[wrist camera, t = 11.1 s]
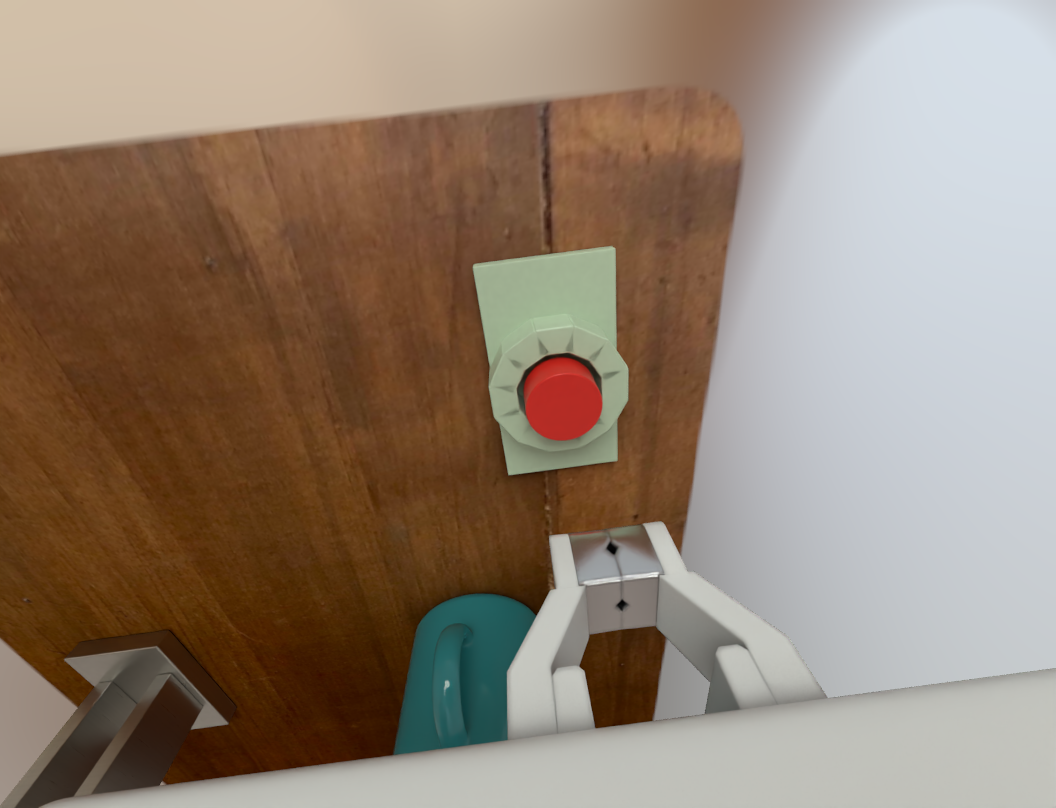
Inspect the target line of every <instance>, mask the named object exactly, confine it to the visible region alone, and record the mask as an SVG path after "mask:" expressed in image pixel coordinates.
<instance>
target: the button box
mask: <svg viewBox="0 0 1056 808" xmlns="http://www.w3.org/2000/svg"><path fill="white" fill-rule="evenodd" d="M473 272H474V278H475V284H476V290H477V296H478V302H479V307H480V313H481V319H482V325H483V331H484V336H485V342H486V348H487V354H488V360H489V366H490V371H489V392H490V398H491V403H492V409H493V414H494V418H495V419H496V420H497V422H498V423H499V424H500V430H501V435H502V441H503V447H504V453H505V459H506V464H507V470H508V475H515V474H523V473H530V472H538V471H545V470H553V469H560V468H568V467H575V466H583V465H590V464H598V463H605V462H613V461H617V460H618V450H617V418H618V416H619V415H620V413H621V411H622V410H623V408H624V406H625V405H626V403H627V401H628V367H627V365H626V363H625V362H624V360H623V359H622V357H621V356H620V355H619V353H618V352H617V348H616V249H615V248H614V247H612V246H608V247H601V248H593V249H585V250H578V251H570V252H562V253H555V254H547V255H539V256H532V257H524V258H516V259H508V260H501V261H493V262H485V263H478V264H474V265H473ZM557 357H566V358H571V359H574V360H577V361H579V362H580V363H582V364H583V365H584V366H586V367H587V369H588V370H589V371H590V373H591V375H592V377H593V379H594V381H595V383H596V385H597V387H598V389H599V391H600V393H601V396H602V402H603V405H602V412H601V415H600V417H599V419H598V421H597V423H596V424H595V425H594V426H593V428H592V429H590V430H589V431H588V432H587V433H585V434H584V435H582V436H580V437H578V438H575V439H571V440H565V441H557V440H551V439H548V438H545V437H543V436H542V435H540V434H539V433H537V432H536V431H535V430H534V429H533V428H532V427H531V425H530V424H529V422H528V419H527V416H526V410H525V402H524V394H523V389H524V384H525V381H526V378H527V376H528V375H529V373H530V372H531V371H532V370H533V369H534V368H535V367H536V366H537V365H538V364H540V363H542V362H543V361H546V360H548V359H551V358H557Z"/></svg>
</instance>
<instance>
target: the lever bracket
mask: <svg viewBox="0 0 1056 808" xmlns="http://www.w3.org/2000/svg"><path fill="white" fill-rule="evenodd" d="M64 660H65V661H66V662H67V663H68V664H69V665H70V666H72V667H73V668H74V669H75V670H76V671H77V672H78V673H80V674H81V675H82V676H83V677H84V678H85V679H86V680H88V681H89V682H90V683H91V684H92V685H93V686H94V688H93V690H92V691H91V692H90V693H89V695H88V696H87V697H86V698H85V700H84V701H83V702H82V703H81V705H80V706H79V707H78V709H77V710H76V711H75V712H74V714H73V715H72V716H71V717H70V719H69V720H68V721H67V722H66V724H65V725H64V726H63V727H62V729H61V730H60V731H59V732H58V734H57V735H56V736H55V738H54V739H53V740H52V741H51V742H50V744H49V745H48V746H47V747H46V749H45V750H44V751H43V753H42V754H41V755H40V756H39V758H38V759H37V760H36V761H35V763H34V764H33V765H32V766H31V768H30V769H29V770H28V771H27V773H26V774H25V775H24V777H23V778H22V779H21V780H20V781H19V783H18V784H17V785H16V786H15V788H14V789H13V790H12V791H11V793H10V794H9V795H8V796H7V798H6V799H5V800H4V802H3V803H2V804H1V805H0V808H39V807H41V806H43V805H45V804H47V803H50V802H52V801H56V800H59V799H63V798H69V797H75V796H83V795H91V794H99V793H107V792H115V791H123V790H131V789H139V788H146V787H154V786H159V785H160V783H161V782H162V780H163V778H164V776H165V775H166V773H167V771H168V769H169V767H170V766H171V764H172V762H173V760H174V758H175V757H176V755H177V753H178V751H179V749H180V748H181V746H182V744H183V742H184V741H185V739H186V737H187V735H188V733H189V732H190V730H191V729H198V728H205V727H213V726H220V725H227V724H229V722H230V720H231V718H232V716H233V714H234V712H235V710H236V706H235V705H234V704H233V703H232V701H231V700H230V699H229V698H228V697H227V696H226V695H225V693H224V692H223V691H222V690H221V689H220V688H219V687H218V685H217V684H216V683H215V682H214V681H213V680H212V679H211V677H210V676H209V675H208V674H207V673H206V672H205V671H204V669H203V668H202V667H201V666H200V665H199V664H198V663H197V661H196V660H195V659H194V658H193V657H192V656H191V655H190V653H189V652H188V651H187V650H186V649H185V648H184V647H183V645H182V644H181V643H180V642H179V641H178V640H177V639H176V637H175V636H174V635H173V634H172V633H171V632H170V631H169V630H166V631H158V632H151V633H144V634H136V635H129V636H121V637H114V638H107V639H99V640H92V641H84V642H80V643H79V644H78V645H77V646H76V647H75V648H74V649H73V650H72V651H71V652H70V653H69V655H68V656H67V657H66V658H65V659H64Z"/></svg>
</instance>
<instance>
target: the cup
mask: <svg viewBox="0 0 1056 808" xmlns="http://www.w3.org/2000/svg"><path fill="white" fill-rule="evenodd" d="M535 618H536V615H535V613H534V612H533V611H532V610H531V609H530V608H528V607H527V606H526V605H524V604H523V603H521V602H519V601H517V600H515V599H512V598H509V597H506V596H502V595H497V594H487V593H477V594H468V595H462V596H458V597H455V598H452V599H449V600H447V601H444V602H442V603H440V604H439V605H437V606H436V607H434V608H433V609H431V610H430V611H429V612H428V613H427V614H426V615H425V616H424V617H423V618H422V620H421V621H420V623H419V625H418V627H417V629H416V632H415V636H414V641H413V647H412V652H411V658H410V663H409V669H408V674H407V680H406V685H405V691H404V696H403V702H402V707H401V713H400V719H399V724H398V730H397V735H396V741H395V746H394V752H393V755H399V754H406V753H414V752H422V751H429V750H437V749H444V748H452V747H460V746H467V745H475V744H482V743H490V742H498V741H505V740H508V728H507V671H508V669H509V667H510V665H511V664H512V662H513V660H514V658H515V656H516V654H517V652H518V650H519V648H520V647H521V645H522V643H523V641H524V639H525V637H526V635H527V633H528V631H529V630H530V628H531V626H532V624H533V622H534V620H535Z"/></svg>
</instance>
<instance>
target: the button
mask: <svg viewBox="0 0 1056 808" xmlns="http://www.w3.org/2000/svg"><path fill="white" fill-rule="evenodd" d="M523 394H524V402H525V410H526V416H527V419H528V422H529V424H530V425H531V427H532V428H533V429H534V430H535V431H536V432H537V433H539V434H540V435H542V436H543V437H545V438H548V439H551V440H557V441H565V440H571V439H575V438H578V437H580V436H582V435H584V434H585V433H587V432H588V431H589V430H590V429H592V428H593V426H594V425H595V424H596V423H597V421H598V419H599V417H600V415H601V412H602V405H603V402H602V396H601V393H600V391H599V389H598V387H597V385H596V383H595V381H594V379H593V377H592V375H591V373H590V371H589V370H588V369H587V367H586V366H584V365H583V364H582V363H580V362H579V361H577V360H574V359H571V358H566V357H557V358H551V359H548V360H546V361H543V362H542V363H540V364H538V365H537V366H536V367H535V368H534V369H533V370H532V371H531V372H530V373H529V375H528V376H527V378H526V381H525V384H524V389H523Z"/></svg>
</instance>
